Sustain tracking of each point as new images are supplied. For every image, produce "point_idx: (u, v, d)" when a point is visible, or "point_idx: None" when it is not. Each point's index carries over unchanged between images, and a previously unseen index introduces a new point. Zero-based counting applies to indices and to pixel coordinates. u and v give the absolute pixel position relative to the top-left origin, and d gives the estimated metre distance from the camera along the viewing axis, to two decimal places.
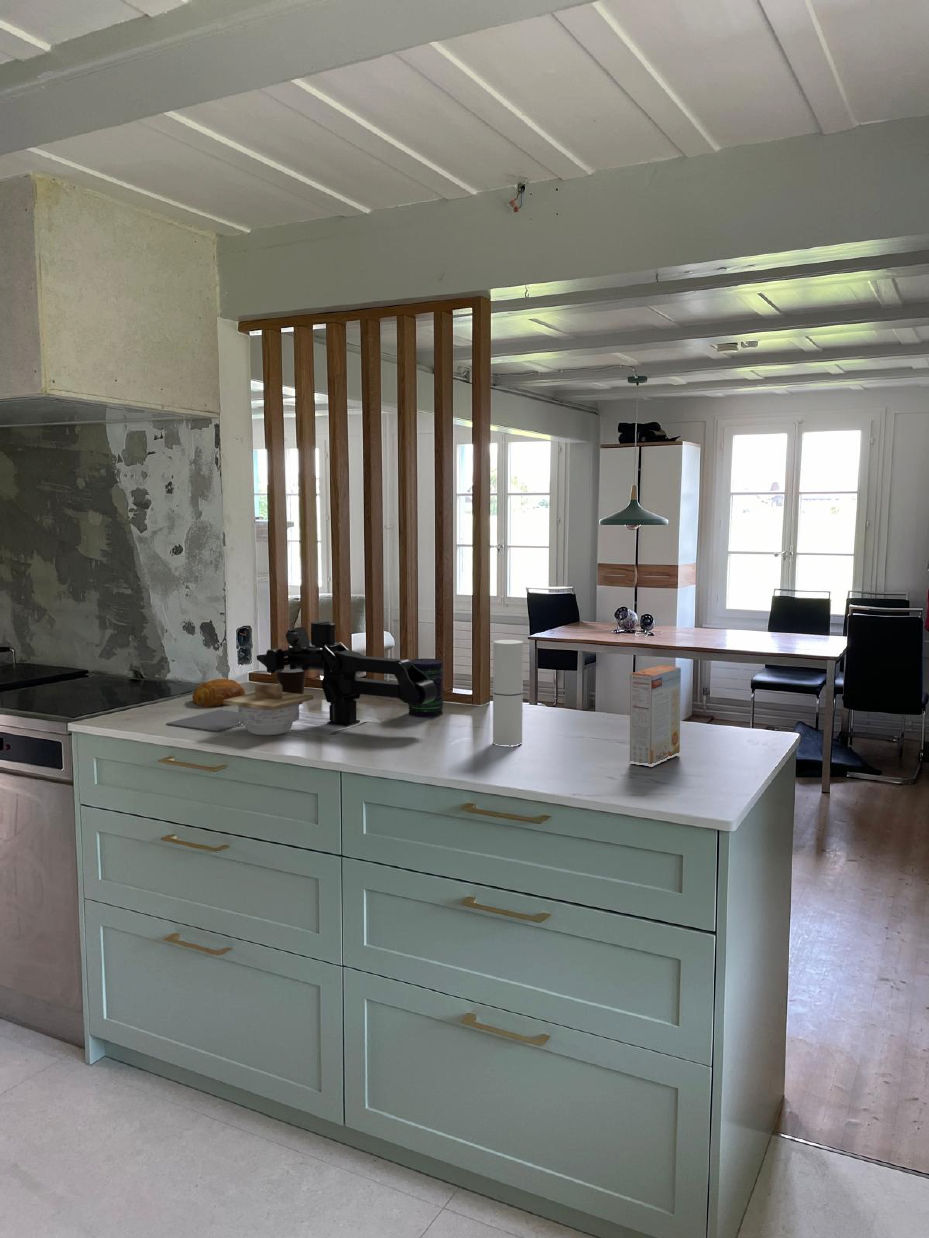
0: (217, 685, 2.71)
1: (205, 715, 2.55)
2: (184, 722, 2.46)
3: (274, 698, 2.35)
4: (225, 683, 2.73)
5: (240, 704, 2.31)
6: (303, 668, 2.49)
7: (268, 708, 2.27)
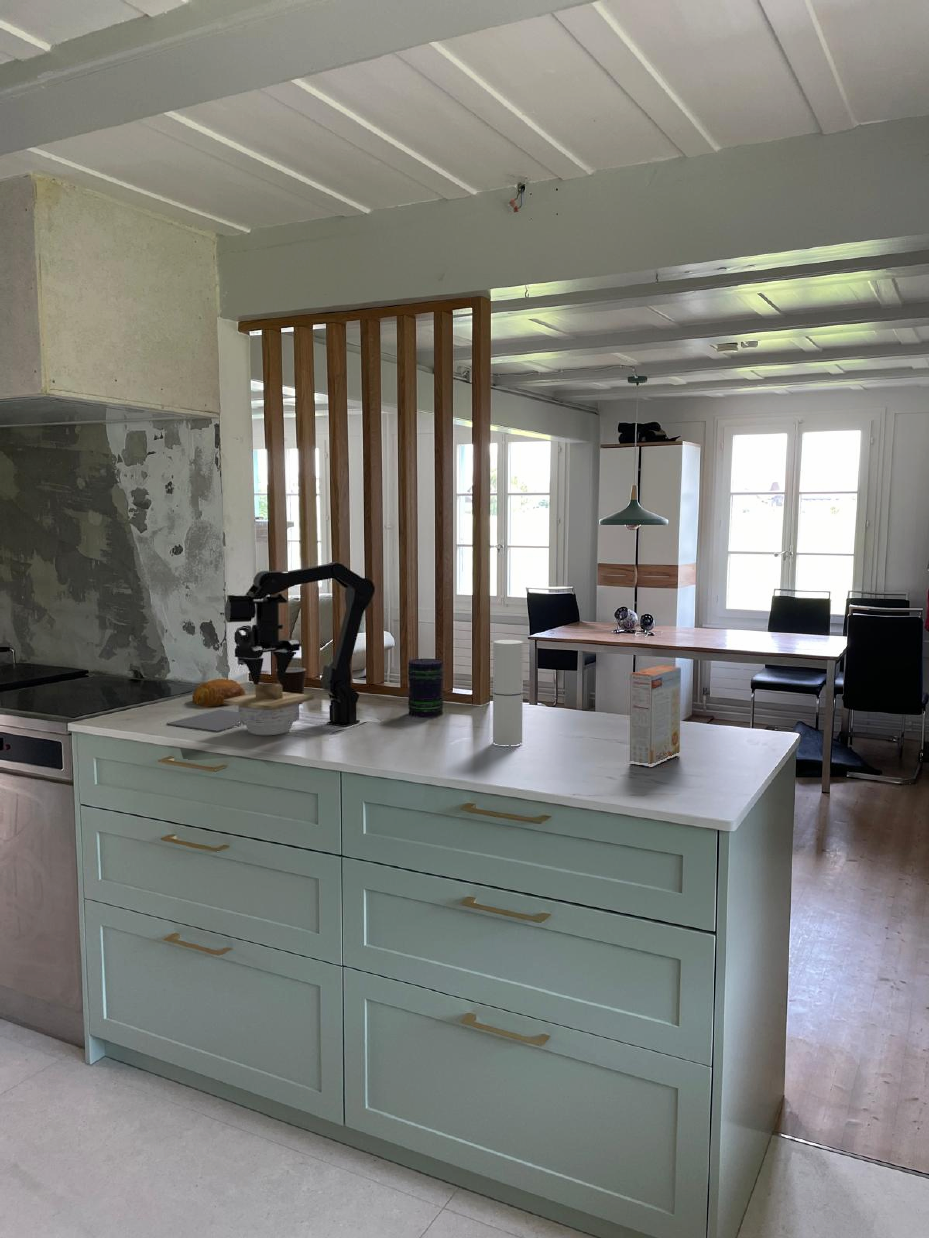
0: (217, 685, 2.71)
1: (205, 715, 2.55)
2: (184, 722, 2.46)
3: (274, 698, 2.35)
4: (225, 683, 2.73)
5: (240, 704, 2.31)
6: (268, 628, 2.32)
7: (268, 708, 2.27)
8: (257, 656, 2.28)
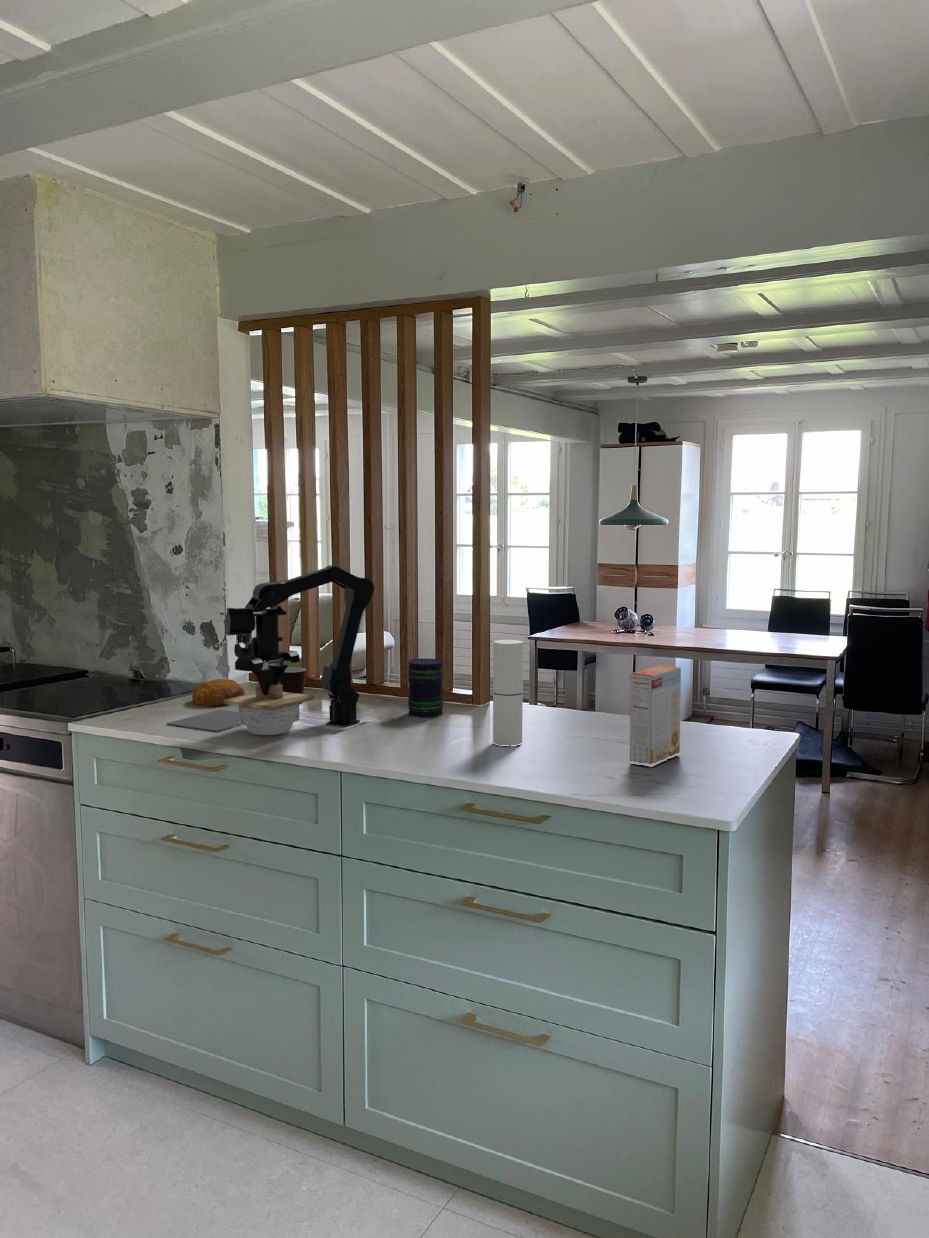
0: (217, 685, 2.71)
1: (205, 715, 2.55)
2: (184, 722, 2.46)
3: (275, 698, 2.35)
4: (225, 683, 2.73)
5: (241, 704, 2.31)
6: (268, 640, 2.32)
7: (269, 708, 2.27)
8: (257, 669, 2.28)
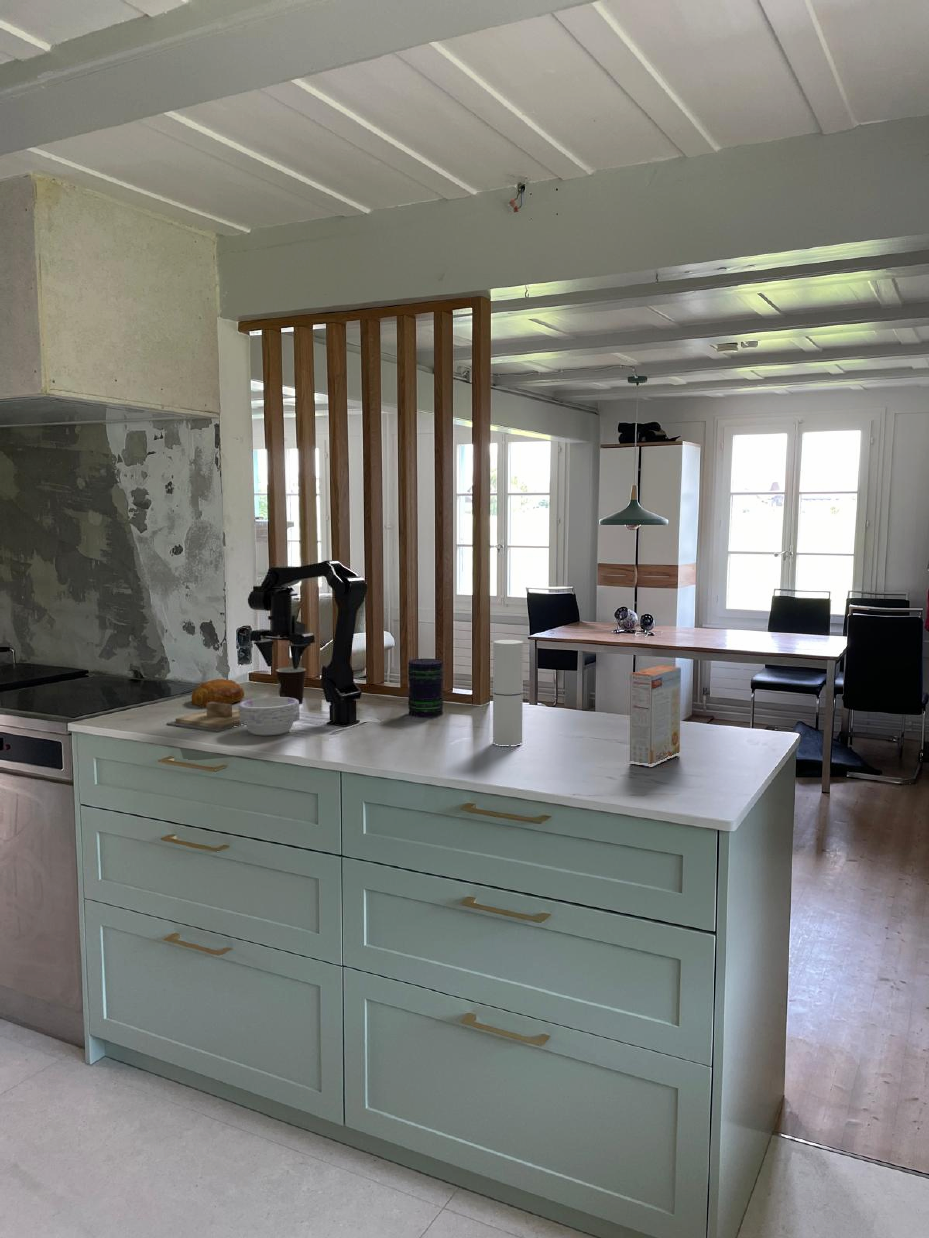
0: (216, 685, 2.71)
1: None
2: None
3: (224, 716, 2.47)
4: (224, 683, 2.73)
5: (191, 722, 2.44)
6: None
7: (217, 727, 2.40)
8: (253, 639, 2.58)
